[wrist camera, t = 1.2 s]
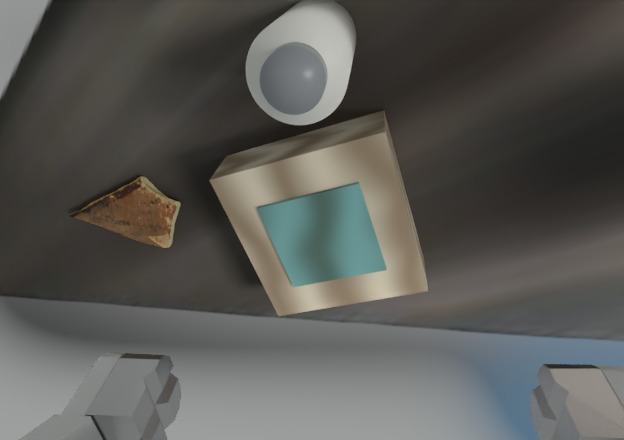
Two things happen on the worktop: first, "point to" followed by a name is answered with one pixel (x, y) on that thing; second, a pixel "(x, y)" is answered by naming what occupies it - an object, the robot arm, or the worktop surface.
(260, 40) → the white bottle
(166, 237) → the shard
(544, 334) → the worktop surface
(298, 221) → the birch plinth
